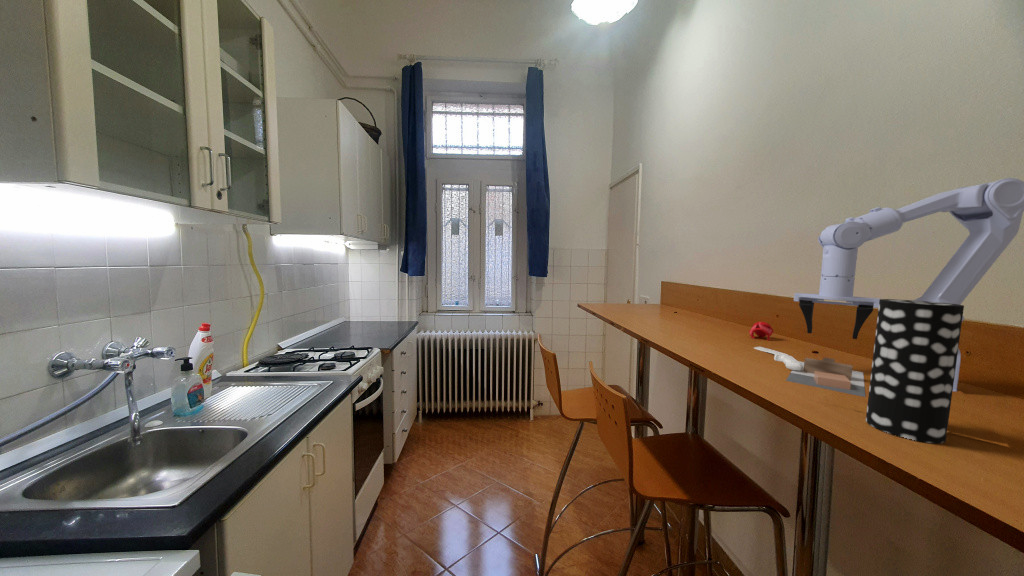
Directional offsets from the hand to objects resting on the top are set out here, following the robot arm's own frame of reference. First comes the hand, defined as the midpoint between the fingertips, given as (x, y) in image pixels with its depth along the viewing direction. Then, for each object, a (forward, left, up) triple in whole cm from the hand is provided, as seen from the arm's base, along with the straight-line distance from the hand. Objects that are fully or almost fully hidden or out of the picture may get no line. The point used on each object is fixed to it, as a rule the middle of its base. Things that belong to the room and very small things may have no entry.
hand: (831, 335), depth 81 cm
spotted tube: (-10, +28, -9) cm, 31 cm away
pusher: (0, 0, -9) cm, 9 cm away
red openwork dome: (+18, -35, -10) cm, 41 cm away
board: (0, +4, -9) cm, 10 cm away
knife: (+12, -8, -9) cm, 17 cm away
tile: (-1, +10, -9) cm, 13 cm away
